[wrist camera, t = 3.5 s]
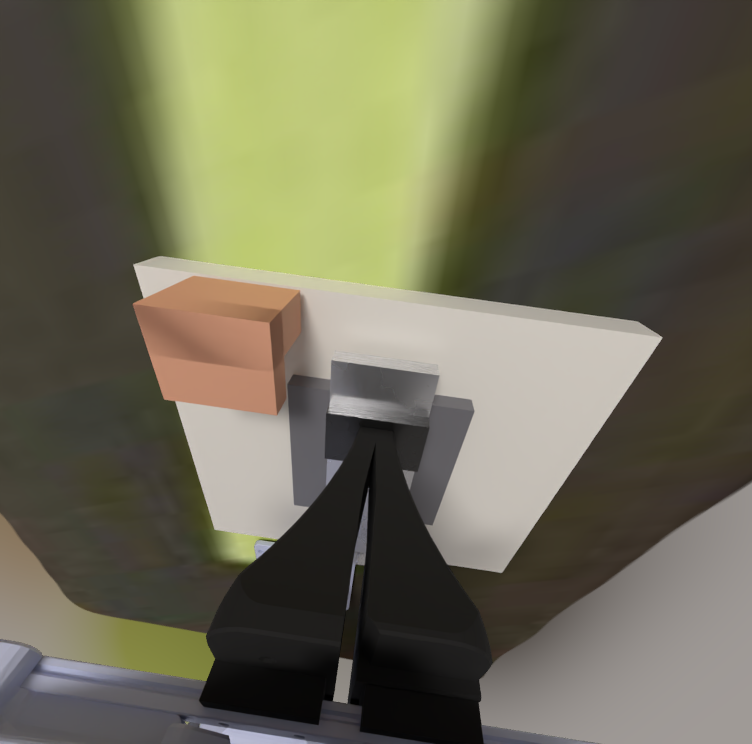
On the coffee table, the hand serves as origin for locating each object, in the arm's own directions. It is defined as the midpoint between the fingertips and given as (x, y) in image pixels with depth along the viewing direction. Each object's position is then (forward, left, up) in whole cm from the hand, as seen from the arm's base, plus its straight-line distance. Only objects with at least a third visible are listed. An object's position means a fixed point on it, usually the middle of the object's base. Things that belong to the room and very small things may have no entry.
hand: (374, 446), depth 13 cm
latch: (+4, +5, -2) cm, 7 cm away
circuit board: (-4, 0, -4) cm, 5 cm away
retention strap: (-3, 0, -2) cm, 4 cm away
